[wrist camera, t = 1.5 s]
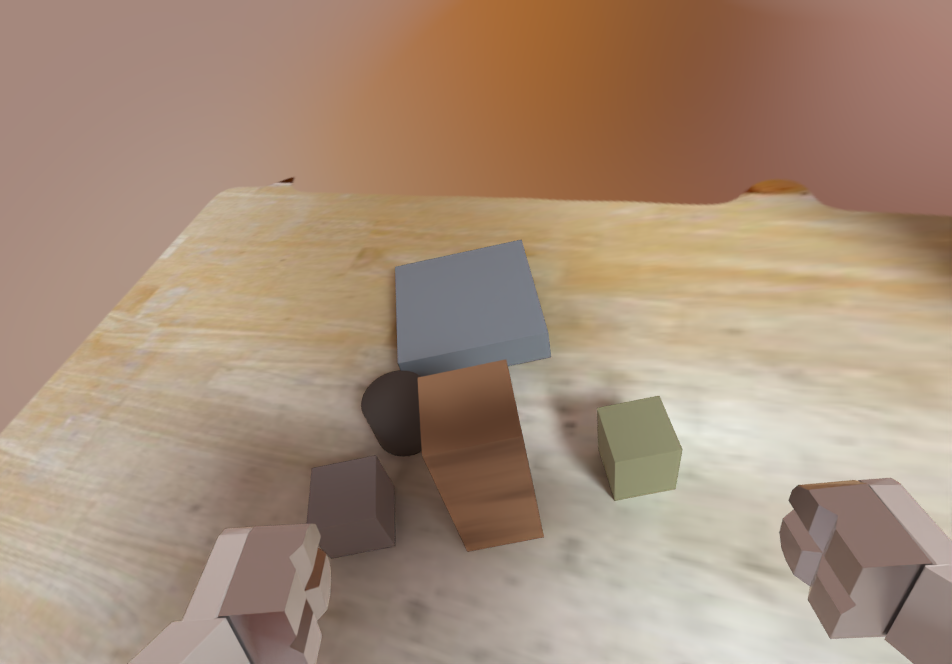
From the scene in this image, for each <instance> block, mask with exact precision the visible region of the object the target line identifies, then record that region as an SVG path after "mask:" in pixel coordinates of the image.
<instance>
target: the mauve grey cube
mask: <svg viewBox="0 0 952 664" xmlns="http://www.w3.org/2000/svg"><path fill="white" fill-rule="evenodd" d="M307 524H316V526H317V528H318V531H319V533H320V536H321V537H320V542H319V546H320V547H321V548H322V549H323V550H324V551H325V552H326V553H327V554H328V556H329V557H330V558H336V557H342V556H347V555H352V554H357V553H362V552H367V551H372V550H378V549H383V548H388V547H393V546H395V505H394V485H393V483H392V482H391V480H390V478H389V477H388V475H387V473H386V471H385V470H384V468H383V466H382V465H381V463H380V461H379V459H378V458H377V456H376V455H375V456H370V457H365V458H360V459H355V460H350V461H345V462H340V463H335V464H330V465H325V466H320V467H315V468H312V473H311V484H310V494H309V505H308V515H307Z"/></svg>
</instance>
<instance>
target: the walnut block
mask: <svg viewBox="0 0 952 664" xmlns="http://www.w3.org/2000/svg"><path fill="white" fill-rule="evenodd" d="M418 395H419V413H420V430H421V447H422V457H423V459H424V461H425V463H426V465H427V467H428V470H429V472H430V474H431V476H432V478H433V480H434V482H435V484H436V486H437V489H438V491H439V493H440V495H441V497H442V499H443V501H444V503H445V505H446V507H447V510H448V512H449V514H450V516H451V518H452V520H453V522H454V524H455V526H456V528H457V531H458V533H459V535H460V537H461V539H462V541H463V543H464V545H465V547H466V550H467V552H469V551H474V550H479V549H484V548H489V547H495V546H500V545H505V544H510V543H516V542H521V541H526V540H531V539H536V538H542V537H544V535H543V530H542V525H541V521H540V516H539V511H538V506H537V501H536V496H535V492H534V487H533V482H532V477H531V472H530V468H529V463H528V458H527V454H526V449H525V444H524V440H523V435H522V430H521V426H520V421H519V416H518V412H517V407H516V402H515V398H514V393H513V388H512V384H511V379H510V374H509V370H508V365H507V360H506V359H505V360H500V361H496V362H491V363H486V364H481V365H476V366H471V367H467V368H462V369H457V370H452V371H447V372H442V373H438V374H433V375H428V376H423V377H418Z"/></svg>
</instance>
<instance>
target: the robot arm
mask: <svg viewBox="0 0 952 664" xmlns="http://www.w3.org/2000/svg"><path fill="white" fill-rule="evenodd" d="M789 502H790V504H791V505H792V507H793V508H794V510H793V511H791V512H790V513H789V514H788V515H786V516H785V517H784V518H783V520H782V524H781V528H780V532H779V533H780V541H781V549H782V551H783V554H784V557H785V560H786V562H787V564H788V566H789V567H790V569H791V571H792V573H793V575H795V576H796V577H797V578H799V579H800V580H802V581H803V582H804V583H806V584H807V585H809V586H810V589H809V595H808V601H809V603H810V605H811V606H812V608H813V610H814V612H815V613H816V615H817V617H818V619H819V620H820V622H821V624H822V626H823V627H824V629H825V631H826V633H827V634H828V636H829V638H830V639H839V638H861V637H884V636H886V637H885V640H886V641H887V642H888V643H889V644H891V645H892V646H893V647H894V648H895V649H897V650H898V651H899V652H900V653H901V654H903V655H904V656H905V657H906V658H907V659H909V660H910V661H911V662H912V663H914V664H952V541H951V540H950V539H949V537H948V536H947V535H946V534H945V533H944V532H943V531H942V530H941V528H940V527H939V526H938V525H937V524H936V523H935V522H934V521H933V519H932V518H931V517H930V516H929V515H928V514H927V513H926V512H925V510H924V509H923V508H922V507H921V506H920V505H919V504H918V503H917V501H916V500H915V499H914V498H913V497H912V496H911V495H910V494H909V492H908V491H907V490H906V489H905V488H904V487H903V486H902V485H901V484H900V483H899V482H897V481H896V480H894V479H892V478H882V479H869V480H859V481H856V480H849V481H838V482H827V483H816V484H805V485H798V486H796V487H795V488H794V489H793V490H792V492H791V495H790V498H789ZM320 537H321V536H320V533H319V531H318V528H317V526H316V524H293V525H273V526H254V527H239V528H225V529H224V531H223V532H222V533H221V534H220V535H219V536H218V538H217V540H216V542H215V544H214V547H213V549H212V551H211V554H210V556H209V558H208V561H207V563H206V565H205V568H204V570H203V572H202V575H201V577H200V579H199V582H198V584H197V586H196V589H195V591H194V593H193V595H192V598H191V600H190V602H189V605H188V607H187V609H186V612H185V614H184V616H183V619H182V621H173V622H172V623H170V624H169V625H168V626H167V627H166V628H165V629H164V630H163V631H162V632H161V633H160V634H159V635H158V636H156V637H155V638H154V639H153V640H152V641H151V642H150V643H149V644H148V645H147V646H146V647H145V648H144V649H143V650H141V651H140V652H139V653H138V654H137V655H136V656H135V657H134V658H133V659H132V660H131V661H130V662H129V663H127V664H316V662H317V657H318V653H319V648H320V643H321V638H322V634H321V631H320V629H319V626H318V623H317V621H318V620H319V618H320V617H321V616H322V615H323V614H324V613H325V612H326V610H327V609H328V604H329V598H330V593H331V569H330V562H329V559H328V556H327V553H326V552H324V551H323V550H321V549H320V548H318V546H319V542H320Z"/></svg>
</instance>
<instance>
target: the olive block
mask: <svg viewBox="0 0 952 664" xmlns="http://www.w3.org/2000/svg"><path fill="white" fill-rule="evenodd" d="M597 420H598V449H599V452H600V455H601V459H602V462H603V465H604V468H605V471H606V475H607V478H608V481H609V484H610V488H611V491H612V494H613V497H614V500H615V501H616V500H622V499H627V498H632V497H637V496H642V495H647V494H653V493H658V492H663V491H668V490H673V489H676V483H677V477H678V472H679V466H680V461H681V455H682V447H681V445H680V443H679V440H678V438H677V436H676V433H675V431H674V429H673V426H672V424H671V422H670V419H669V417H668V415H667V413H666V410H665V408H664V406H663V403H662V401H661V399H660V396H655V397H650V398H645V399H640V400H635V401H630V402H625V403H620V404H615V405H610V406H605V407H600V408H597Z"/></svg>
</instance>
